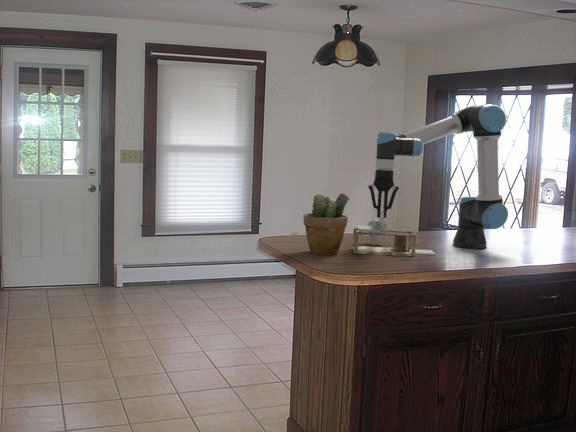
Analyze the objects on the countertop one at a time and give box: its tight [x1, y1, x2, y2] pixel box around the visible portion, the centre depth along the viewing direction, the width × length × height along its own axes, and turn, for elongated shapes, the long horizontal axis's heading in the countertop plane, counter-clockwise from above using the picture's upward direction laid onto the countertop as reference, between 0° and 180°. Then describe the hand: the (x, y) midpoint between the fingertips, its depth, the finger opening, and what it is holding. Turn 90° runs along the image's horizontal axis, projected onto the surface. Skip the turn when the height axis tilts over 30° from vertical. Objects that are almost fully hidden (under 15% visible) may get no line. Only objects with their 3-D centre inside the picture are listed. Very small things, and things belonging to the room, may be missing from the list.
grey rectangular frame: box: [351, 227, 417, 257], centre depth 293 cm, size 25×12×9 cm, turn 89°
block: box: [393, 236, 408, 252], centre depth 293 cm, size 4×4×8 cm
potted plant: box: [302, 192, 350, 256], centre depth 284 cm, size 18×19×25 cm
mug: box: [359, 220, 388, 246], centre depth 314 cm, size 8×13×10 cm, turn 78°
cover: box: [355, 218, 381, 233], centre depth 292 cm, size 9×12×4 cm
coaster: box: [411, 248, 436, 256], centre depth 297 cm, size 9×9×1 cm
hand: (381, 225), depth 292 cm, fingers closed
